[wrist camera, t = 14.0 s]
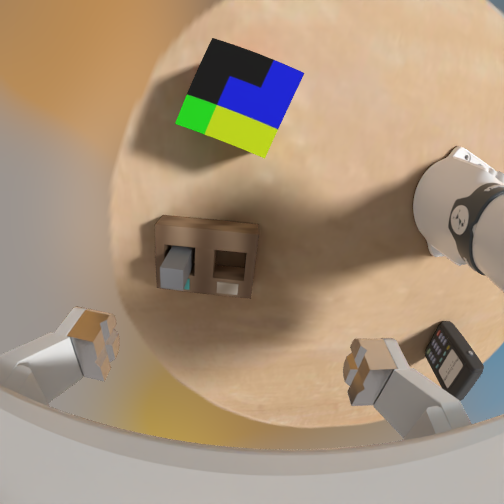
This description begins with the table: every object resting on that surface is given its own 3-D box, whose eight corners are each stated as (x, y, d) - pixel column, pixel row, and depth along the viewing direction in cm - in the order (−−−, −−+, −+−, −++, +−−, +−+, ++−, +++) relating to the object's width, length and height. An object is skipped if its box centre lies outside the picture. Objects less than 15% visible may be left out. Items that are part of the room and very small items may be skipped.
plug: (195, 241, 45) (183, 270, 37) (195, 259, 47) (183, 290, 39) (176, 239, 45) (159, 267, 37) (176, 257, 47) (160, 287, 38)
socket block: (258, 224, 44) (258, 235, 40) (251, 284, 48) (250, 299, 45) (162, 215, 44) (154, 225, 40) (163, 274, 48) (156, 288, 44)
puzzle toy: (292, 83, 36) (304, 73, 27) (262, 148, 40) (264, 158, 31) (222, 55, 34) (212, 38, 25) (193, 121, 38) (175, 123, 29)
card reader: (439, 318, 52) (473, 369, 38) (452, 319, 52) (487, 367, 38) (421, 353, 56) (448, 405, 42) (434, 352, 56) (462, 402, 42)
